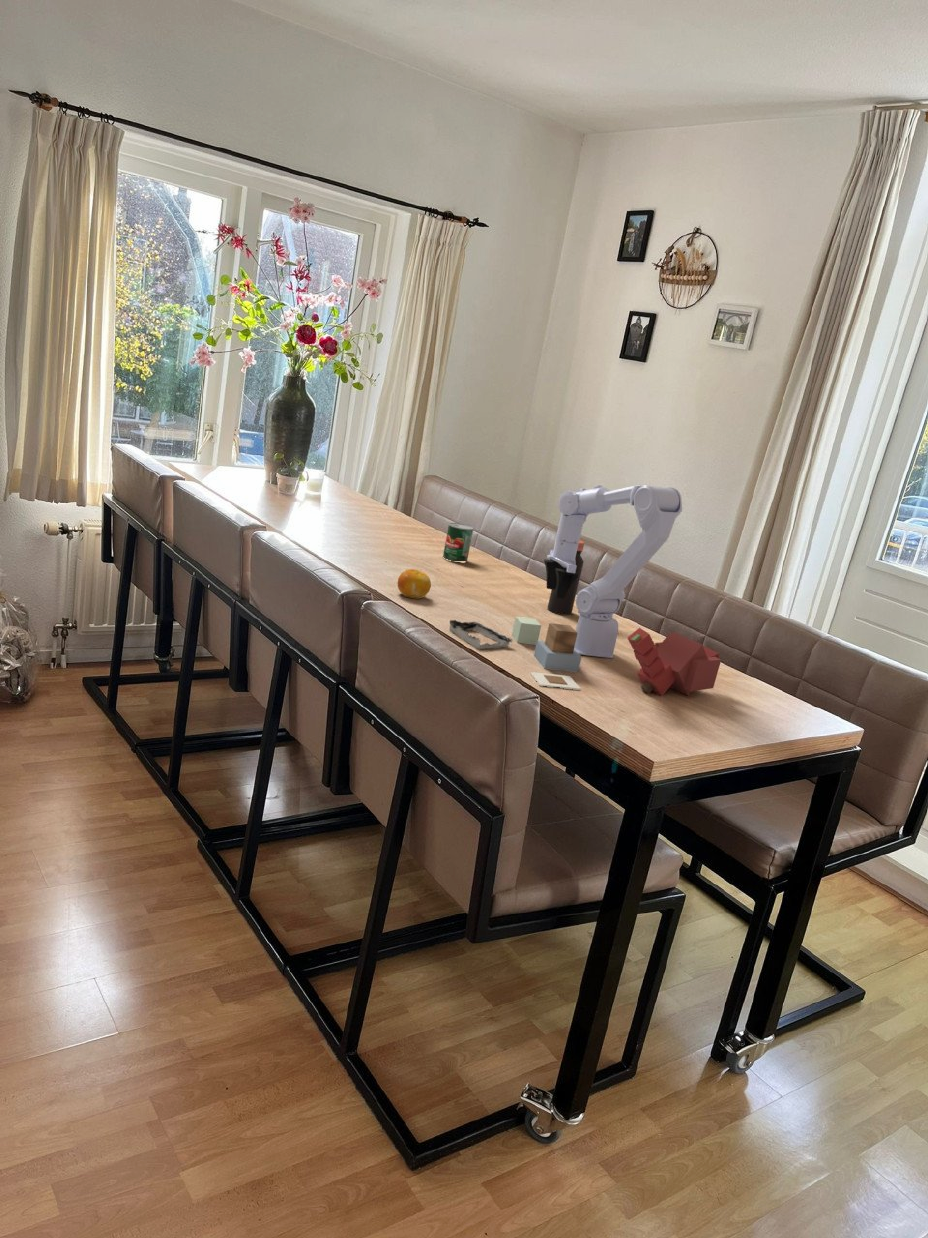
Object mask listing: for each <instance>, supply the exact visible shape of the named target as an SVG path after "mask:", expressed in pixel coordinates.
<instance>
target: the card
mask: <svg viewBox="0 0 928 1238" xmlns="http://www.w3.org/2000/svg"><path fill="white" fill-rule="evenodd" d="M530 675H531V676H532V678H533V679H534V678H535V679H534V681H535V680H536V681H537V682H536V681H535V682H536V683H537V685H538V686H539V685H540V686H539V687H543V686H547V687H546V688H553V687H560V688H559V689H563V688H564V689H565V690H572V689H573V690H574V691H581V687H580V686H579V685H578V684H577V683H576V682H575V680H574V679H573V678H572V677H571V676H570V675H564V674H563V675H562V674H552V673H542V672H534V671H532V672H530Z"/></svg>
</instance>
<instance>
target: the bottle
mask: <svg viewBox="0 0 928 1238" xmlns="http://www.w3.org/2000/svg"><path fill="white" fill-rule="evenodd" d="M584 545H585V542H584V541H583V540H579V544H578V548H577V553H576V557H575V560H576V563H575V564H576V566H577V567H576V571H575V572H577V573H578V574H579V576H578V578H577V579H576V580H575V581H574V582H573V583H572V585H571V587H570V589H569V591H568V593H567V595H566V597H565V598H557V597H556V589H555V590H553V589H550V590H551V591H550V595H549V600H548V605H547V610H548V611H550V612H551V611H552V612H551V613H554V614H558V615H563V616H569V615H571V614H573V610H574V606H575V602H576V597H577V594H578V588H579V583H580V580H581V579H580V578H581V574H582V570H583V566H584V559H583V557H582V556H581V554H582V553H583V550H584Z"/></svg>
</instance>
